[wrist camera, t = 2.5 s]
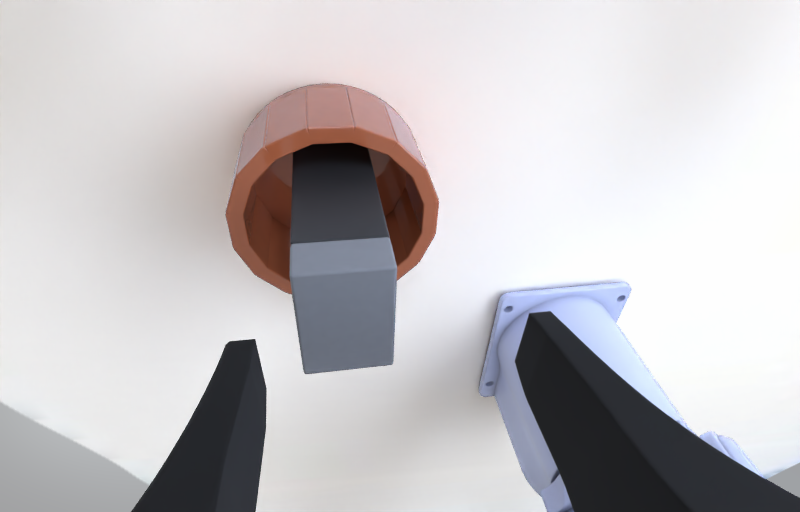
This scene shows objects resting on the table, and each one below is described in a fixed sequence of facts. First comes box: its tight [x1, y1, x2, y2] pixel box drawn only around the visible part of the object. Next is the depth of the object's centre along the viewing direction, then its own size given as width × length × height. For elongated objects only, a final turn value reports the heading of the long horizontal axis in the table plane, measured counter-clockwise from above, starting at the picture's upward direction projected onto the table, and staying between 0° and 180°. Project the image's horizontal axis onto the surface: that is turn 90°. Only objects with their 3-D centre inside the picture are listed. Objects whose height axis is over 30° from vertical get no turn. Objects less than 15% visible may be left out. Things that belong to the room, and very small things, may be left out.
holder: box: [225, 84, 439, 294], centre depth 19 cm, size 8×8×4 cm
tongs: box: [290, 143, 397, 374], centre depth 17 cm, size 4×3×9 cm
